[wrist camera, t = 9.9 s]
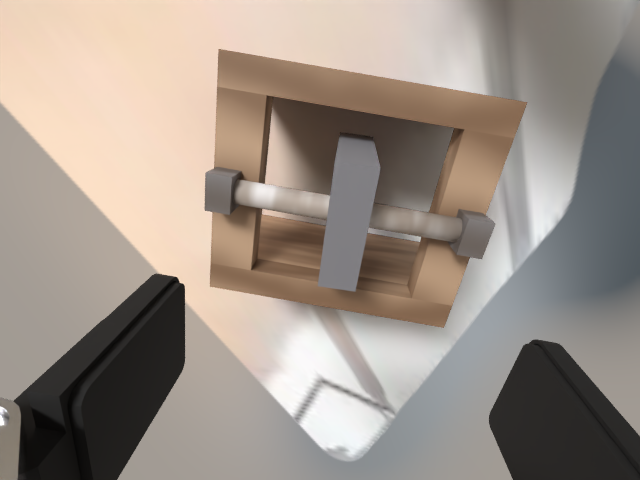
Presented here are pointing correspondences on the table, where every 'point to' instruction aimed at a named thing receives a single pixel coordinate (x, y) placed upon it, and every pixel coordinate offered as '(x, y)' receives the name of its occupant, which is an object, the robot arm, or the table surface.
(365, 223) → the grey piece
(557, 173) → the table surface
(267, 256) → the stand
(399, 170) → the table surface
